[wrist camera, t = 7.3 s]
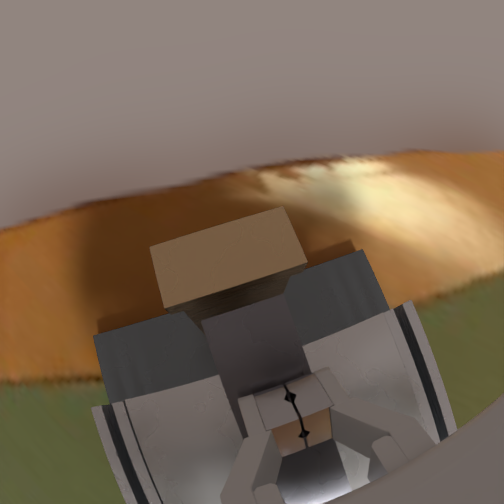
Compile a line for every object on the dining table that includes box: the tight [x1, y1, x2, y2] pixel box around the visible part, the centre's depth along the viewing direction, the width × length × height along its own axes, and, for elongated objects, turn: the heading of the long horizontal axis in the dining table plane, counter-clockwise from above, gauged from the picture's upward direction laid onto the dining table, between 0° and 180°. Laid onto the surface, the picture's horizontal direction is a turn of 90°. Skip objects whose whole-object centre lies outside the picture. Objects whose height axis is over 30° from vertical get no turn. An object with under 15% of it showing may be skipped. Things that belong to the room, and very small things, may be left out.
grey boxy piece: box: [91, 206, 457, 504], centre depth 12 cm, size 18×20×10 cm
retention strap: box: [201, 294, 352, 504], centre depth 10 cm, size 15×3×1 cm, turn 19°
